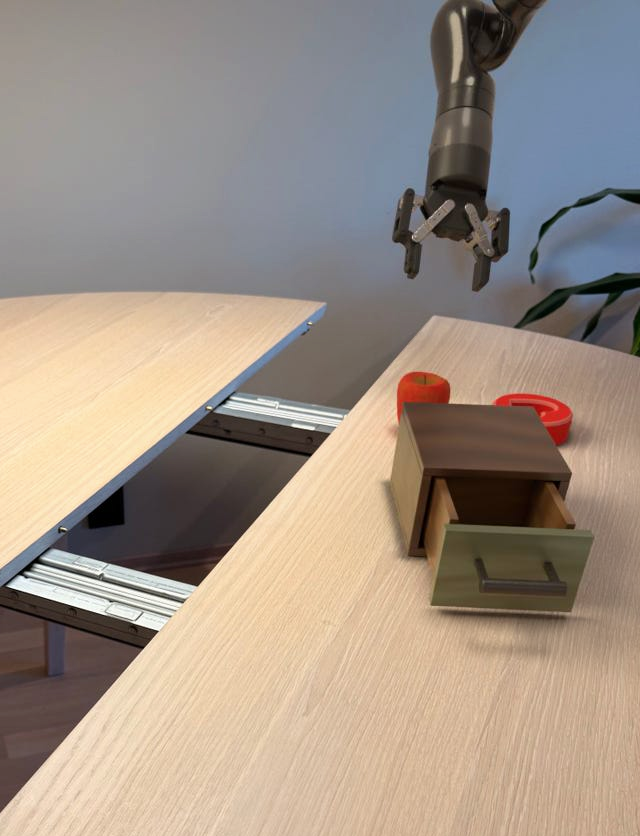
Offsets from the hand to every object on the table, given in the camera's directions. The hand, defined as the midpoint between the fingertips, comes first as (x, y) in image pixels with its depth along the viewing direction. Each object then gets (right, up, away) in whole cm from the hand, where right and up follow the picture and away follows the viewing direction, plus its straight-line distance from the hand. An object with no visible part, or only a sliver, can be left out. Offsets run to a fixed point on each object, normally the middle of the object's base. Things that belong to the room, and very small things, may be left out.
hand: (445, 282), depth 122 cm
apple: (-4, -19, +1) cm, 19 cm away
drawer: (-4, -39, -29) cm, 48 cm away
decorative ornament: (+11, -18, +2) cm, 21 cm away
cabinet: (-3, -32, -17) cm, 36 cm away
